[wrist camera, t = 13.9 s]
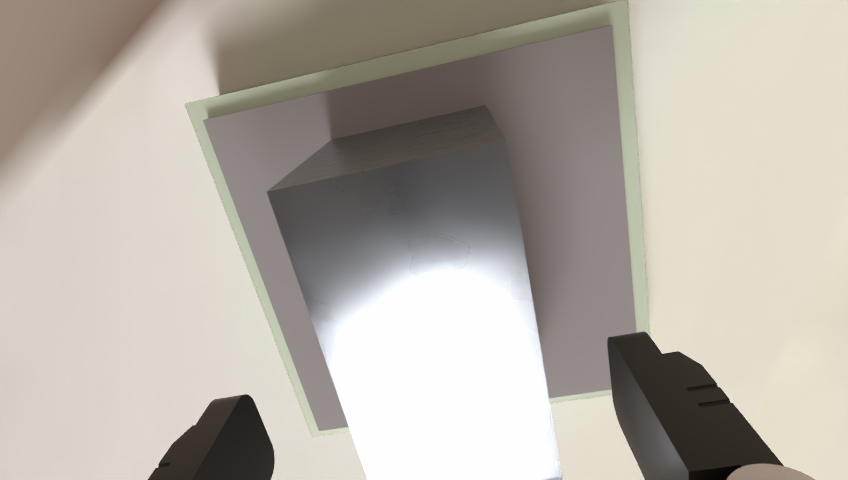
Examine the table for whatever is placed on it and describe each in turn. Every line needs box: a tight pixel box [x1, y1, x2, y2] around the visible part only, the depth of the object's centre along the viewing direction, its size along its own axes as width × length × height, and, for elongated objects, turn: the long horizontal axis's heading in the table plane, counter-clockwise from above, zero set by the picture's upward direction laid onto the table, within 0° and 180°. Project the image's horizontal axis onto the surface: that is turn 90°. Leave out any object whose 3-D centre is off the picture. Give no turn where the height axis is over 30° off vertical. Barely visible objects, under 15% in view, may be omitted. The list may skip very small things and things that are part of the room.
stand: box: [185, 0, 650, 437], centre depth 19 cm, size 14×14×3 cm
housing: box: [267, 105, 562, 480], centre depth 14 cm, size 10×5×6 cm, turn 13°
